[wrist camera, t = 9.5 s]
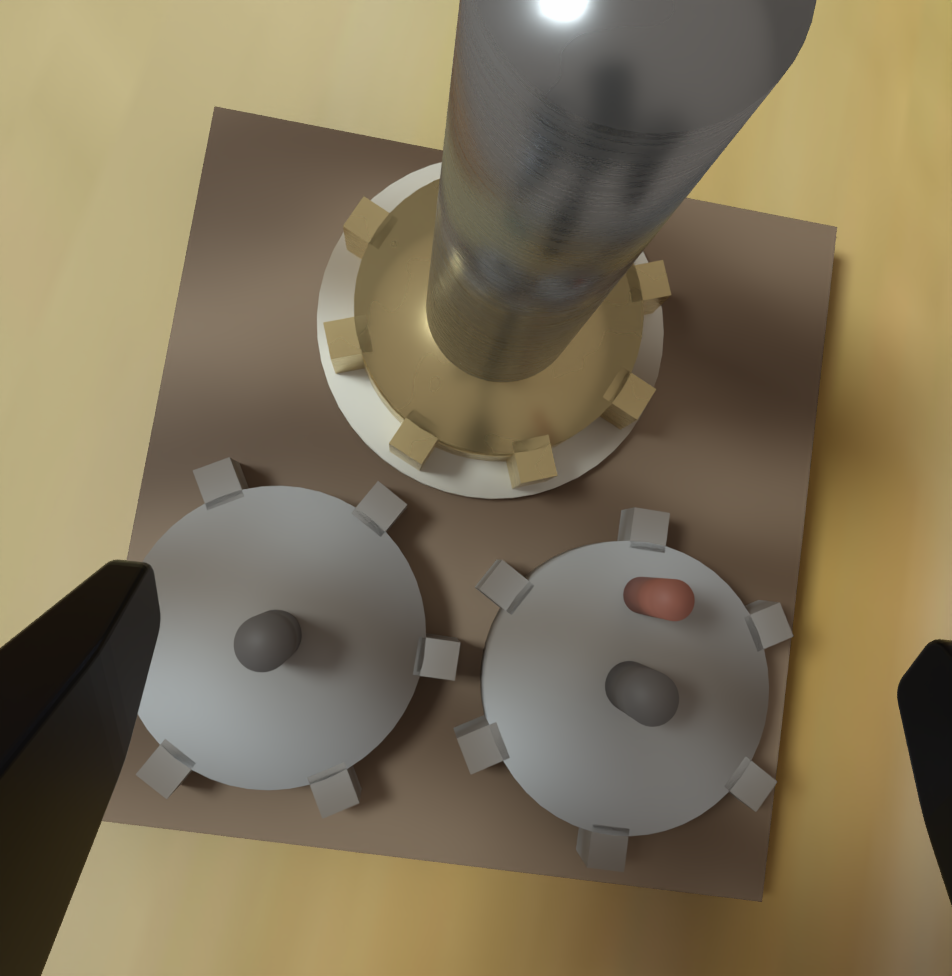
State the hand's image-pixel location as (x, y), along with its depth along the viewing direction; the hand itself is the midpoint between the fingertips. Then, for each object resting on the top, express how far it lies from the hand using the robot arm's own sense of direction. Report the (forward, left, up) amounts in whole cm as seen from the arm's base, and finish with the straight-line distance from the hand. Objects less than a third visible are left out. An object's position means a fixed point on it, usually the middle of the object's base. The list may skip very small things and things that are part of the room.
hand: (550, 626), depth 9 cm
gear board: (+2, 0, -13) cm, 13 cm away
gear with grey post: (+7, 0, -11) cm, 13 cm away
